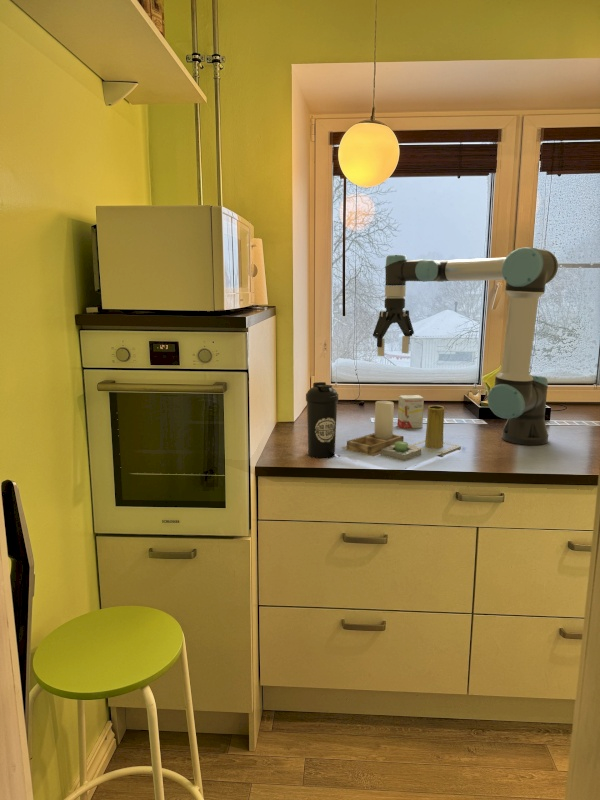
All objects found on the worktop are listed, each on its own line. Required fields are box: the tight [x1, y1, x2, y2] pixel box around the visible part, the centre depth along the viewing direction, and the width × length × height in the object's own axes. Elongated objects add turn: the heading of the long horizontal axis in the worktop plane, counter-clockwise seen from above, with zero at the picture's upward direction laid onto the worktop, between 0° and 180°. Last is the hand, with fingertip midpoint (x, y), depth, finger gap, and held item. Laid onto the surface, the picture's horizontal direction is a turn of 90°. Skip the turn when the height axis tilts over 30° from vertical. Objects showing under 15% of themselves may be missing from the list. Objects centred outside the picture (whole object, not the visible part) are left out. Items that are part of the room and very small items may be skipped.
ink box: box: [397, 394, 425, 429], centre depth 223 cm, size 9×5×12 cm, turn 98°
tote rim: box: [408, 439, 462, 458], centre depth 194 cm, size 13×12×1 cm
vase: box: [424, 405, 445, 449], centre depth 193 cm, size 6×6×14 cm
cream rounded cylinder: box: [373, 400, 395, 440], centre depth 195 cm, size 6×6×14 cm
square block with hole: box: [380, 444, 422, 462], centre depth 184 cm, size 9×9×3 cm
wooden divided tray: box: [342, 432, 404, 457], centre depth 194 cm, size 13×19×4 cm
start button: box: [395, 441, 409, 451], centre depth 184 cm, size 4×4×2 cm
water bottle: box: [305, 381, 339, 460], centre depth 186 cm, size 10×10×23 cm
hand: (393, 354), depth 223 cm, fingers open, 13 cm apart
